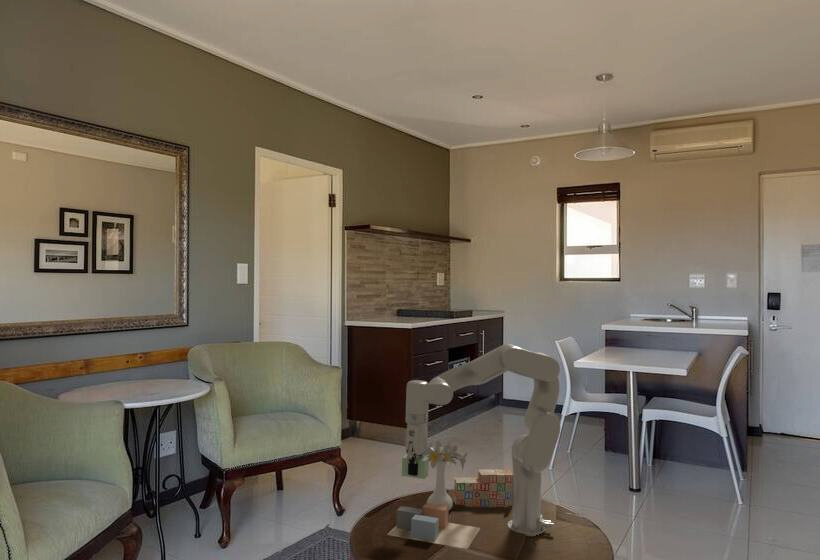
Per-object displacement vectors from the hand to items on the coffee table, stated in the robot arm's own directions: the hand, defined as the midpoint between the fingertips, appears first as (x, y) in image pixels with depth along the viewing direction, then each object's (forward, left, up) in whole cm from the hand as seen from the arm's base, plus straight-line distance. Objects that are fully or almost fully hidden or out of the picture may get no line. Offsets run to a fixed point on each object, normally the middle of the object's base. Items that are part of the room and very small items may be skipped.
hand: (415, 472), depth 199 cm
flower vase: (-3, -20, -20) cm, 28 cm away
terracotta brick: (-5, -6, -19) cm, 21 cm away
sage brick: (0, 0, -1) cm, 1 cm away
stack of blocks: (-16, -33, -20) cm, 42 cm away
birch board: (-7, -1, -20) cm, 21 cm away
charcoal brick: (+2, 0, -19) cm, 19 cm away
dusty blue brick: (-5, +5, -19) cm, 20 cm away
